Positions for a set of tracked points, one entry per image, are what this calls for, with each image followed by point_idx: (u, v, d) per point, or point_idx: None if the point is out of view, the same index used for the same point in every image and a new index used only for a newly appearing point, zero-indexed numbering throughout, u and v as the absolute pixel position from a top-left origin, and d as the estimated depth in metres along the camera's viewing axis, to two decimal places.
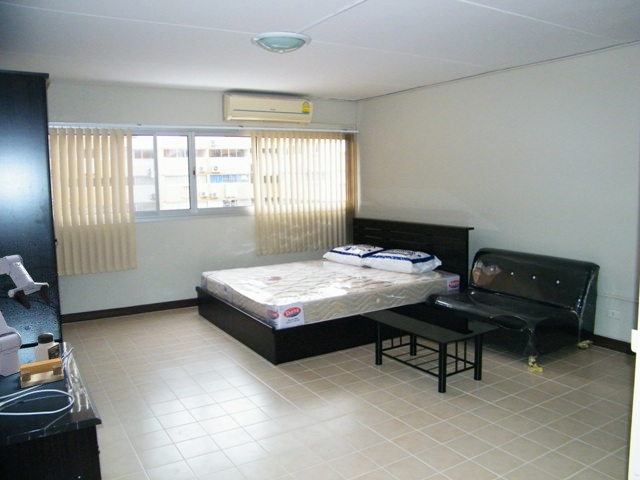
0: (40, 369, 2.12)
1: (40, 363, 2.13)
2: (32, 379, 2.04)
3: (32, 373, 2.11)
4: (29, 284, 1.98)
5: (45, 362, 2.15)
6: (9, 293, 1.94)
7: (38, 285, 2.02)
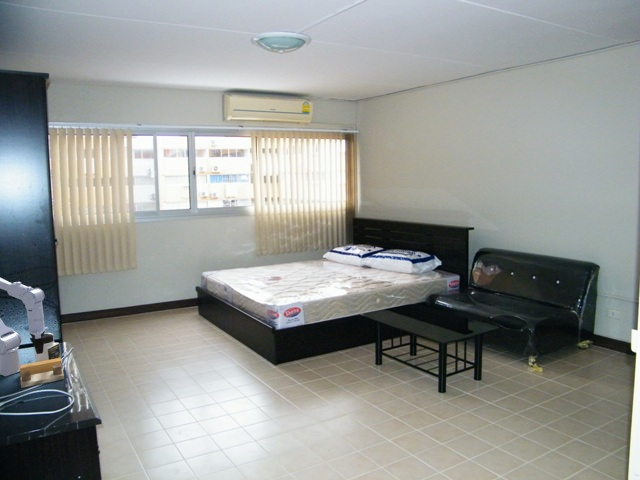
0: (40, 369, 2.12)
1: (40, 363, 2.13)
2: (32, 379, 2.04)
3: (32, 373, 2.11)
4: None
5: (45, 362, 2.15)
6: (37, 335, 2.06)
7: None
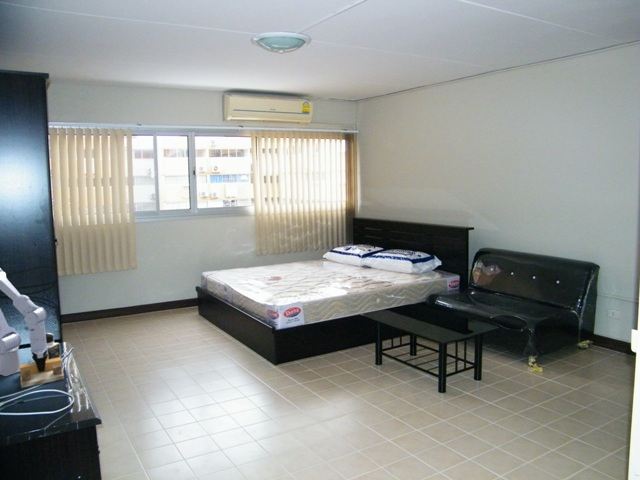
0: None
1: None
2: (32, 379, 2.04)
3: (32, 372, 2.11)
4: None
5: None
6: (40, 355, 2.07)
7: None
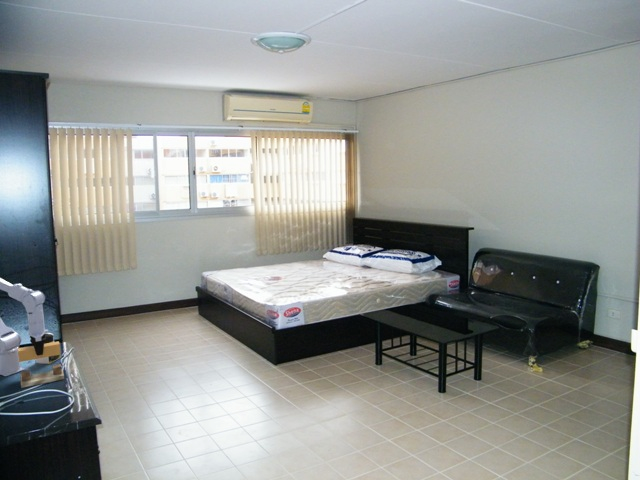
0: None
1: None
2: (32, 379, 2.04)
3: (30, 356, 2.10)
4: None
5: None
6: (38, 338, 2.06)
7: None
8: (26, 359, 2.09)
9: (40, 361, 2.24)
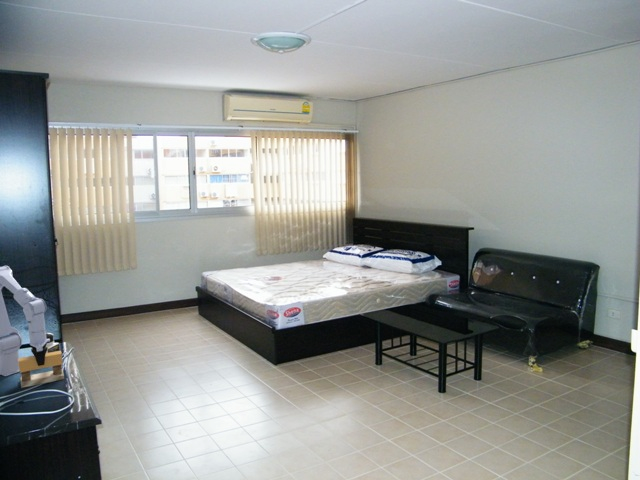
0: None
1: None
2: (32, 379, 2.04)
3: (31, 366, 2.03)
4: None
5: (45, 354, 2.07)
6: (39, 348, 1.99)
7: None
8: (27, 369, 2.02)
9: None
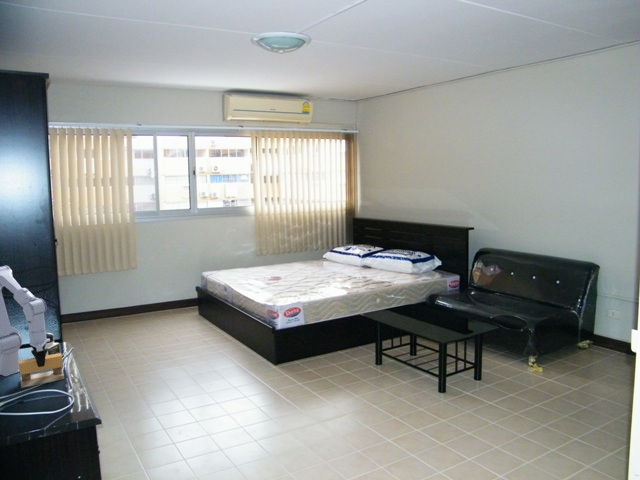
0: None
1: None
2: (32, 379, 2.04)
3: (31, 368, 2.03)
4: None
5: (45, 357, 2.07)
6: (39, 348, 1.99)
7: None
8: (27, 372, 2.02)
9: None
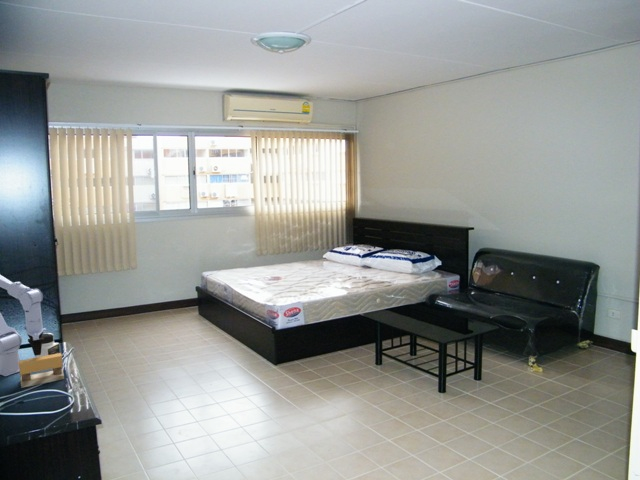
0: (39, 365, 2.04)
1: (40, 359, 2.05)
2: (32, 379, 2.04)
3: (31, 368, 2.03)
4: None
5: (45, 357, 2.07)
6: (35, 337, 2.03)
7: None
8: (27, 372, 2.02)
9: None
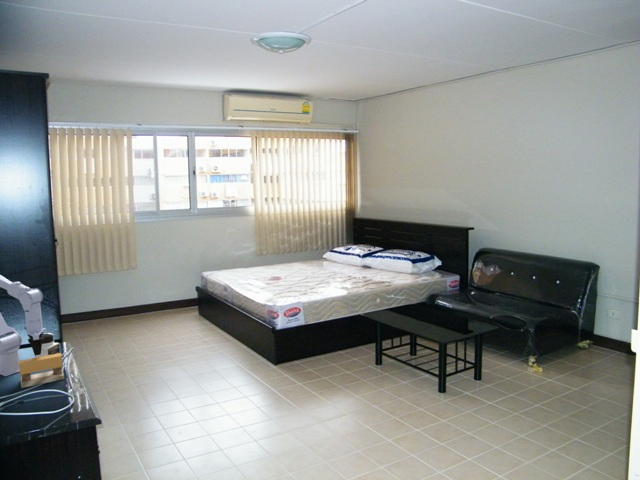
0: (39, 365, 2.04)
1: (40, 359, 2.05)
2: (32, 379, 2.04)
3: (31, 368, 2.03)
4: None
5: (45, 357, 2.07)
6: (35, 336, 2.03)
7: None
8: (27, 372, 2.02)
9: None
